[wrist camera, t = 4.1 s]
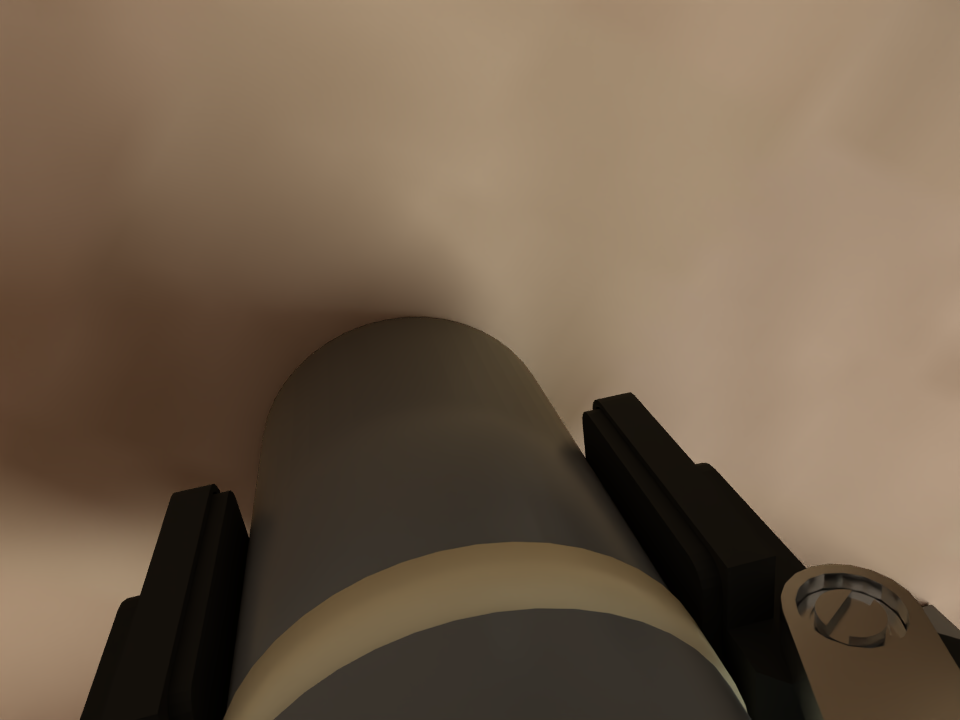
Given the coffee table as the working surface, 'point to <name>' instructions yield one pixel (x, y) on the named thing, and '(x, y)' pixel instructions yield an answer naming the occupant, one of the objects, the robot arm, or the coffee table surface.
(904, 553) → the coffee table surface
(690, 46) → the coffee table surface
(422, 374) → the lens
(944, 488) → the coffee table surface
